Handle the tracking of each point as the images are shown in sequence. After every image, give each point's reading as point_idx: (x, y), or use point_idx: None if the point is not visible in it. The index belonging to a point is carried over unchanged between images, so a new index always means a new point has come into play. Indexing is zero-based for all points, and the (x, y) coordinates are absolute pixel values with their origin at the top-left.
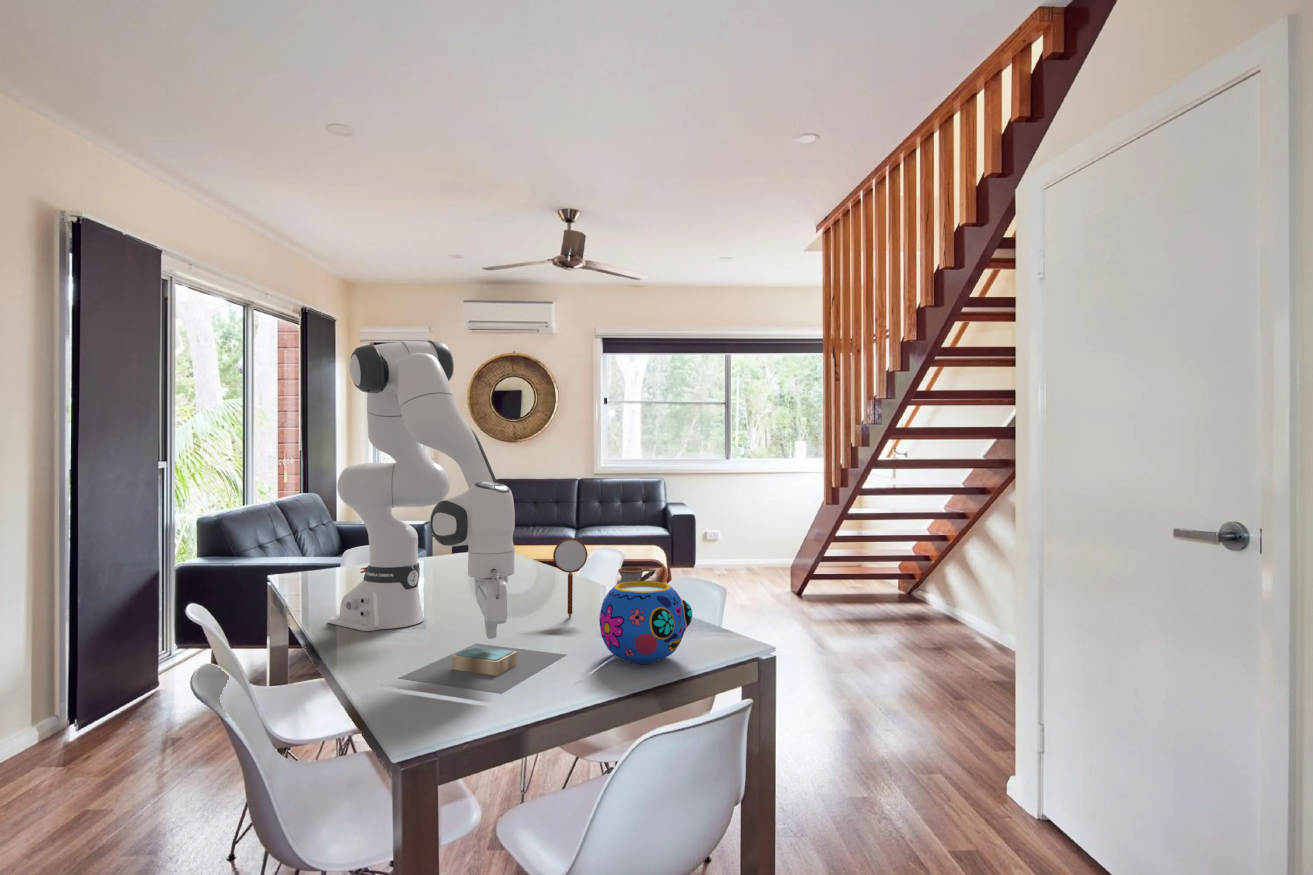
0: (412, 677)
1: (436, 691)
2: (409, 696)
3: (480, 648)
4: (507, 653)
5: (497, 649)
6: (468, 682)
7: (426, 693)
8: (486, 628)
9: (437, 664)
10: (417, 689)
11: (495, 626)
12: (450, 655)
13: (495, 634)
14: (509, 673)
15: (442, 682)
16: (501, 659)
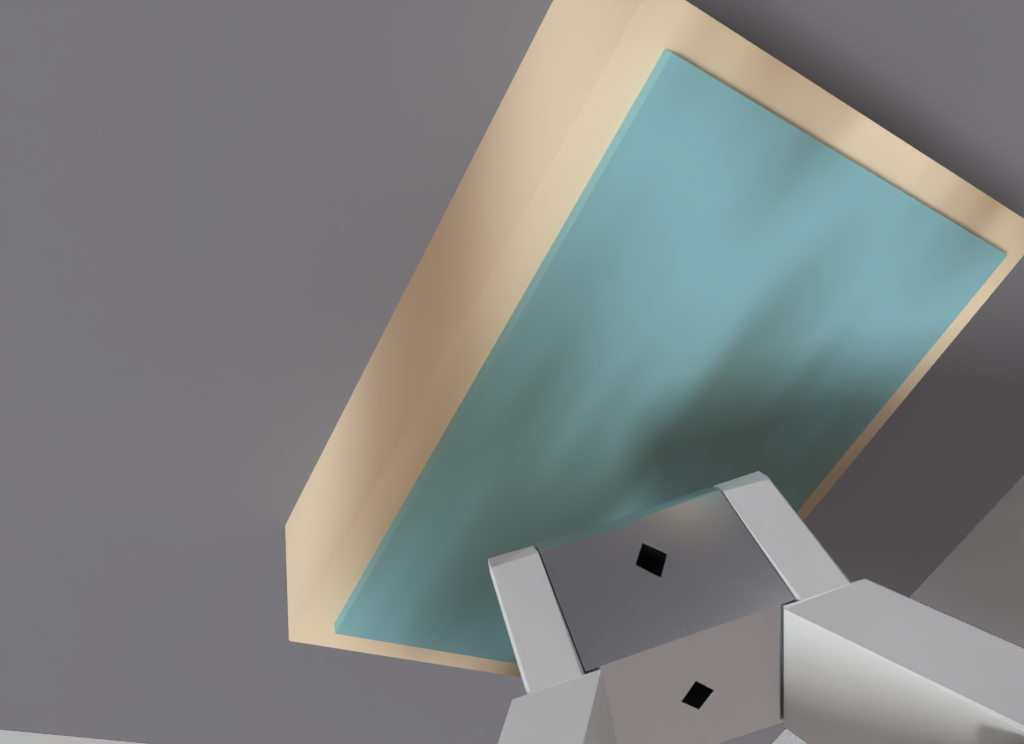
0: (737, 741)
1: (988, 535)
2: (1000, 634)
3: (448, 547)
4: (775, 146)
5: (536, 332)
6: (1000, 386)
7: (995, 574)
8: (743, 732)
9: (455, 724)
10: None
11: (947, 635)
12: (166, 735)
13: (782, 510)
14: (913, 29)
15: (915, 555)
16: (971, 192)
